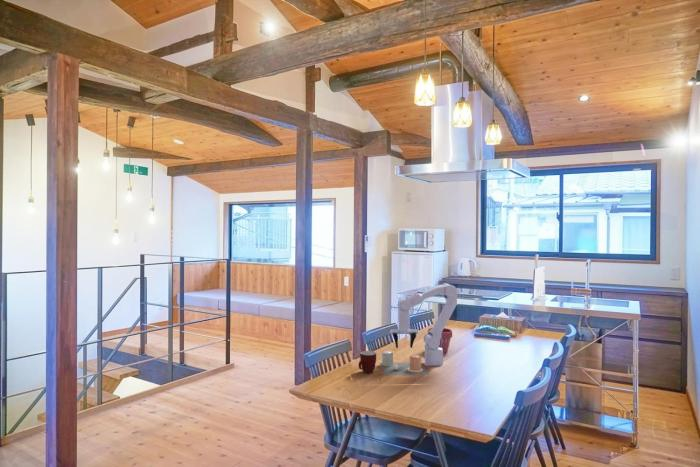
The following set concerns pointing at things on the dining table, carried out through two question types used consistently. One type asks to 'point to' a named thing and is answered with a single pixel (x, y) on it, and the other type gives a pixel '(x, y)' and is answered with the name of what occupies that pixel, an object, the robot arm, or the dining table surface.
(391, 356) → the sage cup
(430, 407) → the dining table surface
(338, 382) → the dining table surface
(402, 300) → the robot arm
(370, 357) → the mug
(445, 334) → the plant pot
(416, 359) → the tan piece
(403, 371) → the mat
